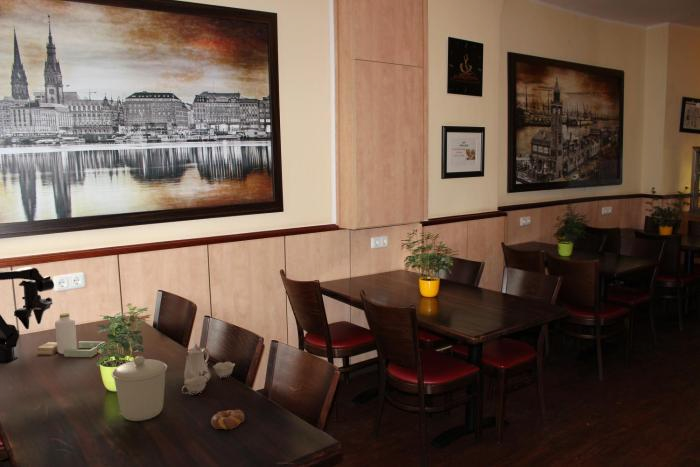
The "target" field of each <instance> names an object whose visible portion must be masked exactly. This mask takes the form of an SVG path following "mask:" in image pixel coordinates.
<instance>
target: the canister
mask: <svg viewBox="0 0 700 467" xmlns="http://www.w3.org/2000/svg"><path fill="white" fill-rule="evenodd" d="M167 369H168V365H167V363H165V362H163V361H161V360H158V359H151V358H147V359H146V358H145V357H144V356H142V355H138V356H136V357H135V358H134V359H133V360H131V361H128V362H125V363H122V364H120V365H119V366H117V367H115V369H113V370H112V372H111V377H112V378H113V380H114V384H115V392H116V396H117V400H118V404H119V408H120V413H121V415H122V417H123V418H124V419H126V420H128V421H132V422H141V421H147V420H151V419H152V418H154V417H157V416H158V415H159V414H160V413H161V412H162V410H163V407H164V398H165V386H166V385H165V383H166V382H165V381H166V371H167Z"/></svg>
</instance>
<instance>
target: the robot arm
mask: <svg viewBox="0 0 700 467" xmlns="http://www.w3.org/2000/svg"><path fill="white" fill-rule="evenodd" d="M19 279H20V280H22V281H21V282H20V283H19V284H18V286H19V287H23V297H21V299H22V300H24V305H22V307H19V308H17V309H15V310H14V311H13V316H14V317H16V318H18V320H19V321H20V322H21V324H22V325H23V326H24V328H25V329H26V330H29V329H30V318H31V317H32V316H33V315H34V317H35V320H36V323H37V325H40V324H41V323H42V319H43V315H44V313H45V312H46V311H47V310H48V309H50V308H51V306H52V305H53V299H52V297H50V296H49V297H46V298H42V296H41V294H39V293H43V292H47V291H51V290H53V289H54V288H55V287H54V286H55V283H54V281H53V279H52V277H51V276H50V275H46V276H42V274H41V273H40V271H39V269H38V268H36V267H28V266H25V267H20V268H18V269H15V270H4V271H3V270H1V271H0V281H7V280H19ZM26 280H28V281H26ZM32 313H33V314H32ZM19 332H20V331H19V330H18V329H17V327H16V326H15V325H14V324H9V323H7V322H6V320H5V319H4V318H3V316H2V315H1V314H0V363H5V364H6V363H11V362H13V361H15V360H16V359H18V356H15V348H16V347H17V344H18V341H19V337H20V334H19Z"/></svg>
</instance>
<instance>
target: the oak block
mask: <svg viewBox="0 0 700 467" xmlns="http://www.w3.org/2000/svg"><path fill="white" fill-rule="evenodd" d="M56 353H58V351H57V341H56V342H53V341H47V342H46V343H44V344H42V345H39V346H38V347H37V355H54V354H56Z"/></svg>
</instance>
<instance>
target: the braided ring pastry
mask: <svg viewBox="0 0 700 467" xmlns="http://www.w3.org/2000/svg"><path fill="white" fill-rule="evenodd" d="M244 421H245V414H244V411H243V410H241V409H235V410H233V409H228V410H226V411H225V410H221V411H218V412H217V413H216V414H214V415H213V416H212V417H211V419H210V424H211V426H212V427H213V428H214V429H215V430H218V429H224V430H228V429H231V430H234V429H233V428H235V429H236V428H238V427H239V426H240V425H241V424H242V423H241V422H243V423H244ZM240 423H241V424H240ZM239 424H240V425H239ZM237 426H238V427H237Z"/></svg>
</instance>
